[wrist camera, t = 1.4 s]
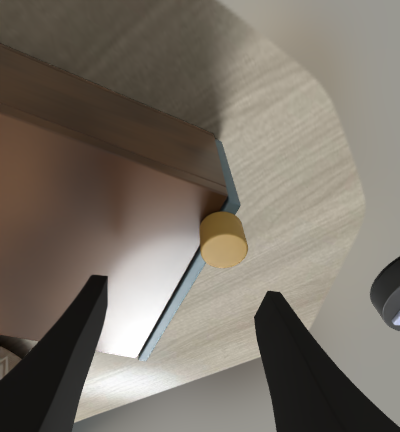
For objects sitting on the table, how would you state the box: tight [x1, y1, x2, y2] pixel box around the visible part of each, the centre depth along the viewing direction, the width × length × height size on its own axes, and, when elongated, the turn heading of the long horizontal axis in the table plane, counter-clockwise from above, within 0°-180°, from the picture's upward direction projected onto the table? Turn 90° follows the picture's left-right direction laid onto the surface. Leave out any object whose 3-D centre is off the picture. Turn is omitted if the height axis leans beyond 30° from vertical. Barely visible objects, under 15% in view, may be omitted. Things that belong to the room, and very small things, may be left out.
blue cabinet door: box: [138, 139, 248, 361], centre depth 18 cm, size 2×14×10 cm, turn 157°
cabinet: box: [0, 43, 228, 358], centre depth 17 cm, size 14×15×8 cm
